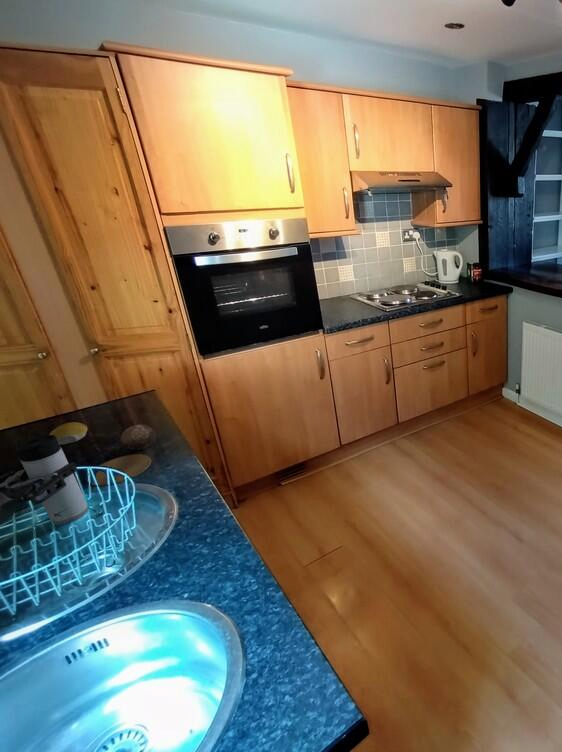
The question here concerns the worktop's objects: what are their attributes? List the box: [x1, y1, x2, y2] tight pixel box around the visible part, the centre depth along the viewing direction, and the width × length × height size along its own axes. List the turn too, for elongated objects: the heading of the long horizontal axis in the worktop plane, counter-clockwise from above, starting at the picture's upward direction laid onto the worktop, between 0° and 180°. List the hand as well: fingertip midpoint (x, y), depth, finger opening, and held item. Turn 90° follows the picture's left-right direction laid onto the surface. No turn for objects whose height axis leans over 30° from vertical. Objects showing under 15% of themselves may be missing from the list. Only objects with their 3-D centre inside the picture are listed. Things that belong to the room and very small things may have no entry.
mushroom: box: [119, 424, 158, 451], centre depth 126 cm, size 8×8×6 cm
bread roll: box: [49, 421, 88, 446], centre depth 130 cm, size 8×9×4 cm
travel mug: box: [14, 434, 89, 526], centre depth 98 cm, size 6×7×20 cm
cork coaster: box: [86, 453, 152, 487], centre depth 117 cm, size 13×13×1 cm
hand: (60, 465), depth 99 cm, fingers closed on travel mug, 6 cm apart
